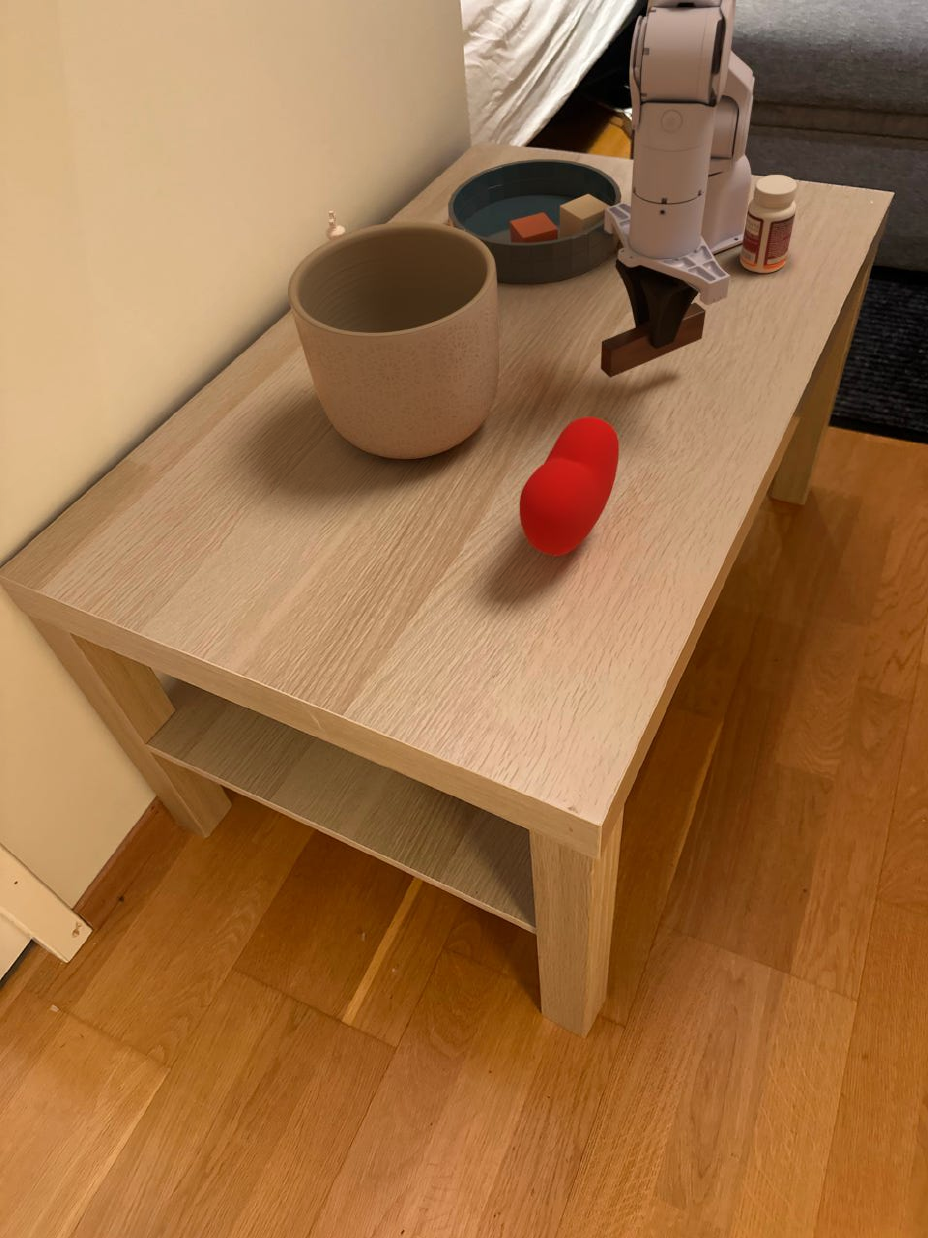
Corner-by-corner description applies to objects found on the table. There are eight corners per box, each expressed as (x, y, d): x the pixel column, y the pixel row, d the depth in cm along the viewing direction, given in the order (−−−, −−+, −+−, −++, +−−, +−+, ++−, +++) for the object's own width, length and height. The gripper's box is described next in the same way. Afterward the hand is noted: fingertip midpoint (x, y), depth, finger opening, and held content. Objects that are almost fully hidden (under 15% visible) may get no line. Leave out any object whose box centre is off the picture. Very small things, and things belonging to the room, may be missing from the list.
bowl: (562, 180, 111) (562, 143, 107) (653, 246, 100) (656, 207, 96) (424, 229, 106) (419, 192, 103) (503, 304, 95) (500, 264, 92)
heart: (570, 488, 77) (570, 393, 69) (629, 506, 75) (636, 411, 67) (507, 582, 71) (500, 489, 63) (569, 604, 69) (570, 512, 61)
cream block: (587, 227, 102) (588, 193, 99) (609, 241, 100) (611, 206, 97) (559, 240, 101) (559, 205, 98) (581, 254, 99) (581, 219, 96)
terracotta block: (544, 246, 101) (543, 211, 97) (558, 263, 98) (558, 228, 95) (511, 255, 100) (509, 220, 97) (524, 272, 98) (523, 237, 94)
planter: (476, 497, 77) (460, 346, 65) (297, 470, 81) (252, 324, 70) (525, 377, 87) (519, 227, 75) (364, 359, 91) (334, 214, 79)
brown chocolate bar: (691, 329, 83) (695, 301, 80) (702, 338, 82) (706, 310, 80) (600, 368, 81) (601, 340, 78) (610, 378, 80) (611, 350, 77)
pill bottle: (787, 252, 97) (803, 173, 90) (782, 276, 94) (798, 197, 87) (742, 248, 98) (755, 170, 91) (736, 271, 95) (748, 193, 89)
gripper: (575, 166, 73) (574, 314, 83) (683, 241, 64) (666, 395, 75) (647, 141, 74) (637, 289, 85) (762, 211, 66) (734, 366, 77)
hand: (655, 337), depth 80 cm, fingers closed on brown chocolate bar, 1 cm apart
